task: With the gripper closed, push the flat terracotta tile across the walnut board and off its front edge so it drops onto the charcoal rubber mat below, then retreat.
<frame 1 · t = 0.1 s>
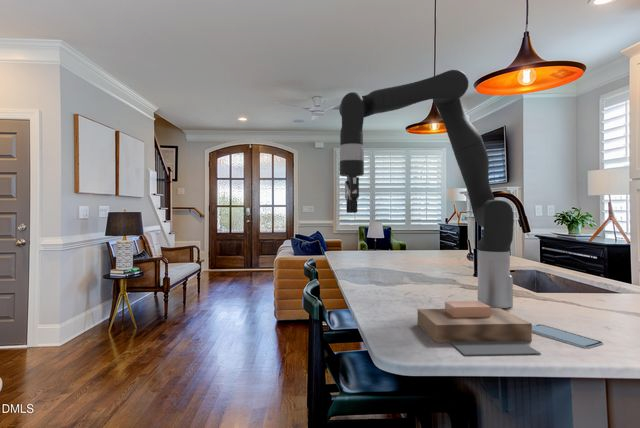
hand: (351, 212, 117), 29 cm above the kitchen island, fingers open, 8 cm apart
terracotta tile: (467, 313, 95), point 4 cm above the kitchen island, touching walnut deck
rubber mat: (493, 348, 82), on the kitchen island
smartphone: (561, 338, 90), on the kitchen island
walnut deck: (470, 332, 93), on the kitchen island
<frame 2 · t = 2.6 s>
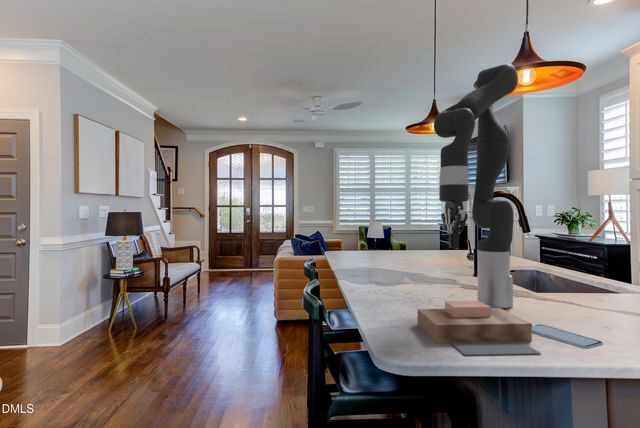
hand: (453, 247, 103), 20 cm above the kitchen island, fingers closed
nothing on the kitchen island moved.
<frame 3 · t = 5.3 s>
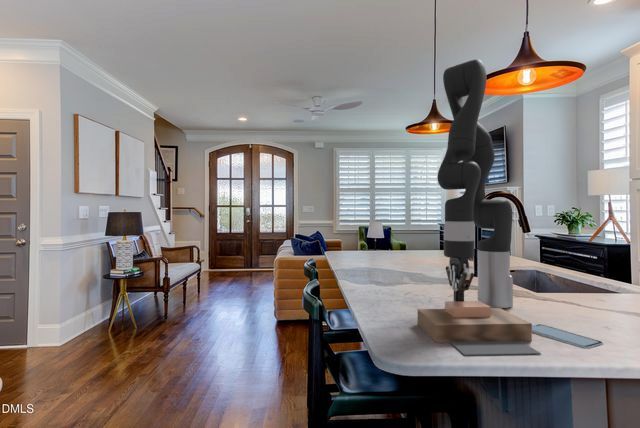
hand: (458, 304, 99), 5 cm above the kitchen island, fingers closed
terracotta tile: (467, 313, 95), point 4 cm above the kitchen island, touching gripper, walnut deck
everything else where it was.
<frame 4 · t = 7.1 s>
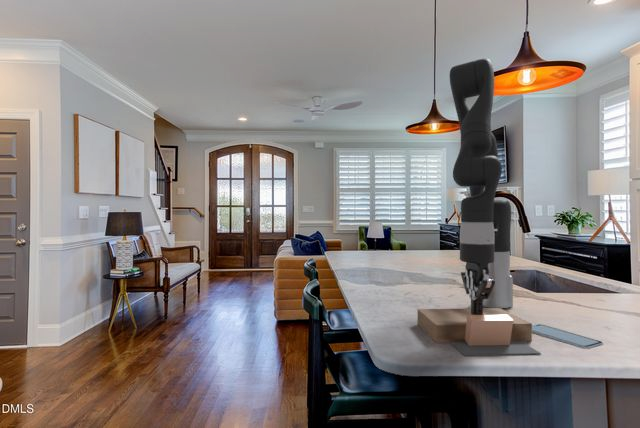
hand: (476, 315, 89), 5 cm above the kitchen island, fingers closed
terracotta tile: (485, 327, 84), point 4 cm above the kitchen island, tilted 104°, touching rubber mat
everything else where it was.
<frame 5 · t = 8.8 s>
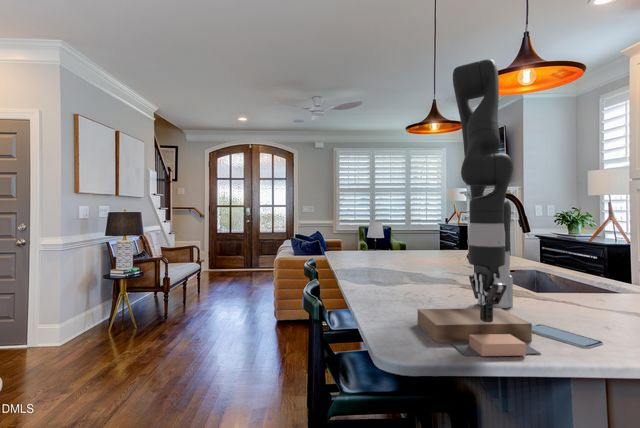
hand: (486, 321, 85), 5 cm above the kitchen island, fingers closed
terracotta tile: (496, 338, 80), point 3 cm above the kitchen island, tilted 180°, touching rubber mat
everything else where it was.
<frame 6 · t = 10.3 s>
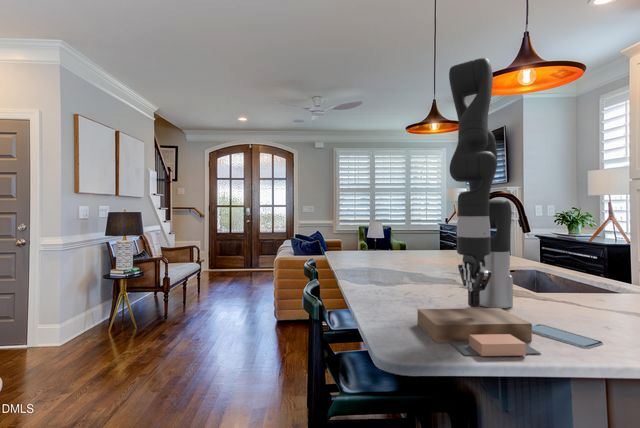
hand: (473, 306, 92), 7 cm above the kitchen island, fingers closed
nothing on the kitchen island moved.
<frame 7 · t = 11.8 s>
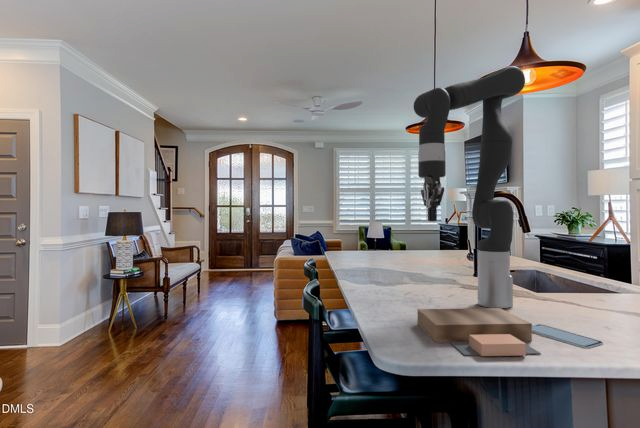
hand: (432, 221, 109), 27 cm above the kitchen island, fingers closed
nothing on the kitchen island moved.
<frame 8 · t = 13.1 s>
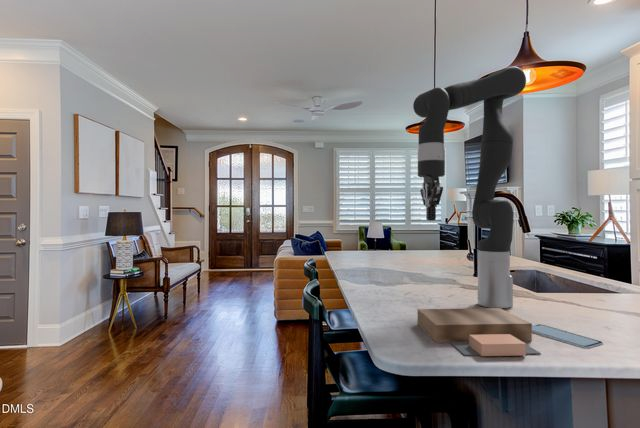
hand: (431, 220, 110), 27 cm above the kitchen island, fingers closed
nothing on the kitchen island moved.
at the end: terracotta tile point 2.7 cm above the kitchen island; terracotta tile inside the target area on the rubber mat (1.3 cm from its centre), point 2.7 cm above the rubber mat's base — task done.
